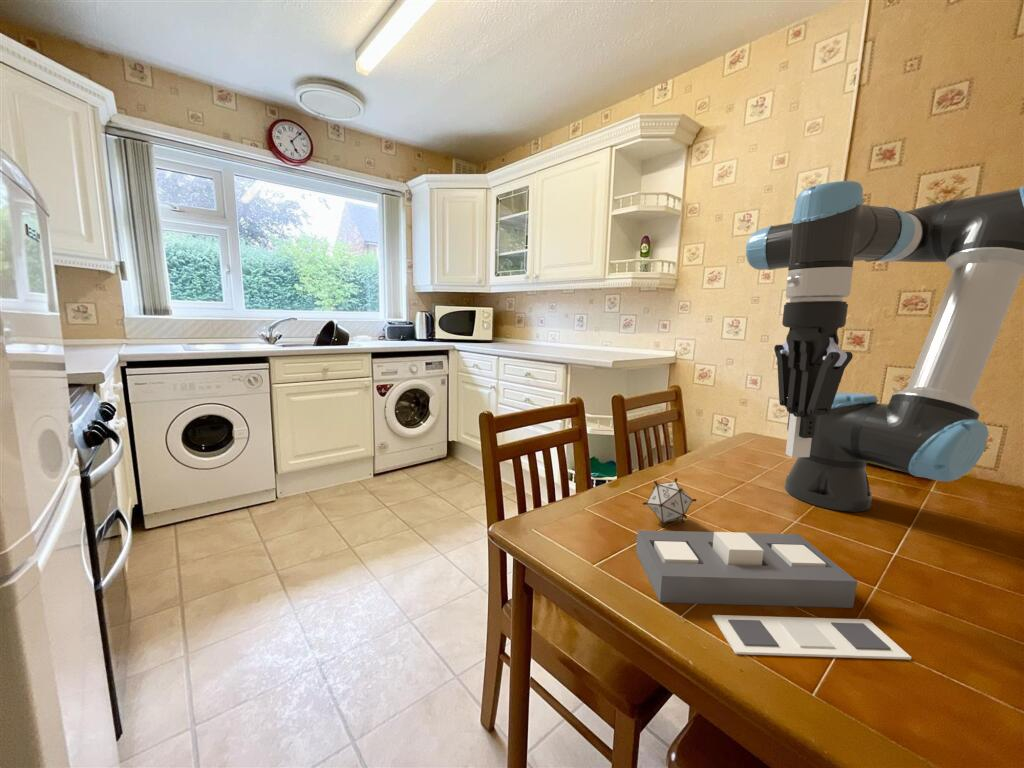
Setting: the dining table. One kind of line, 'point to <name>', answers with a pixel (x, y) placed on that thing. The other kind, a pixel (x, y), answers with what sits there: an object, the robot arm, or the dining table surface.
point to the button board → (743, 574)
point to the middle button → (737, 549)
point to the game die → (669, 502)
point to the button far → (675, 552)
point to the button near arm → (797, 555)
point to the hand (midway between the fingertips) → (797, 455)
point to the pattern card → (807, 637)
